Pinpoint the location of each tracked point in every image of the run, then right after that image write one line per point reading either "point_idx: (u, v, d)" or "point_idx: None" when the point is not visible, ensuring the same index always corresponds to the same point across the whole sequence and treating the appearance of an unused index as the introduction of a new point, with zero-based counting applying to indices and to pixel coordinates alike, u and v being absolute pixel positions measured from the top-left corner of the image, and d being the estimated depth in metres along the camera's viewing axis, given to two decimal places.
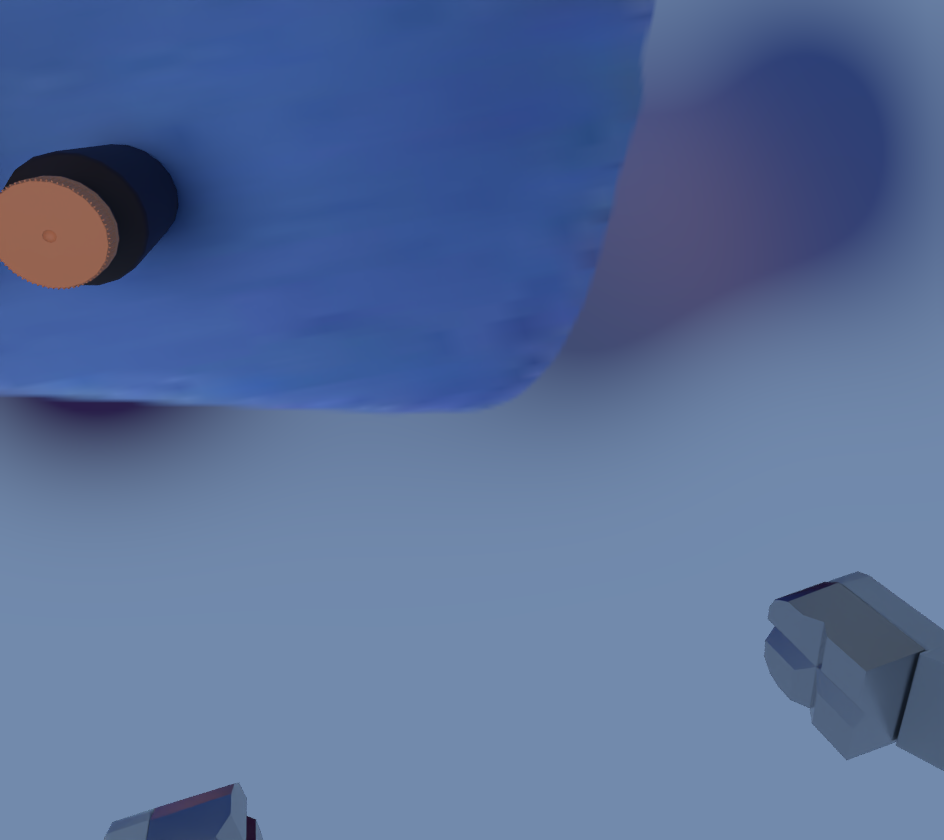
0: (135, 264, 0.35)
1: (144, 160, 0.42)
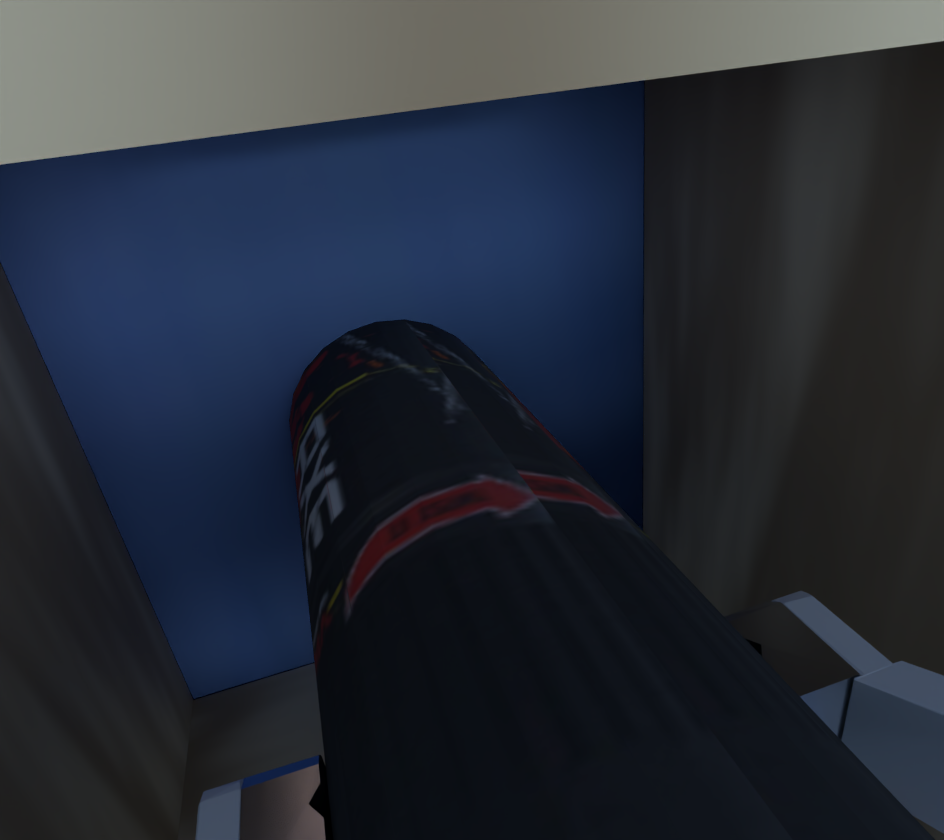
0: None
1: None
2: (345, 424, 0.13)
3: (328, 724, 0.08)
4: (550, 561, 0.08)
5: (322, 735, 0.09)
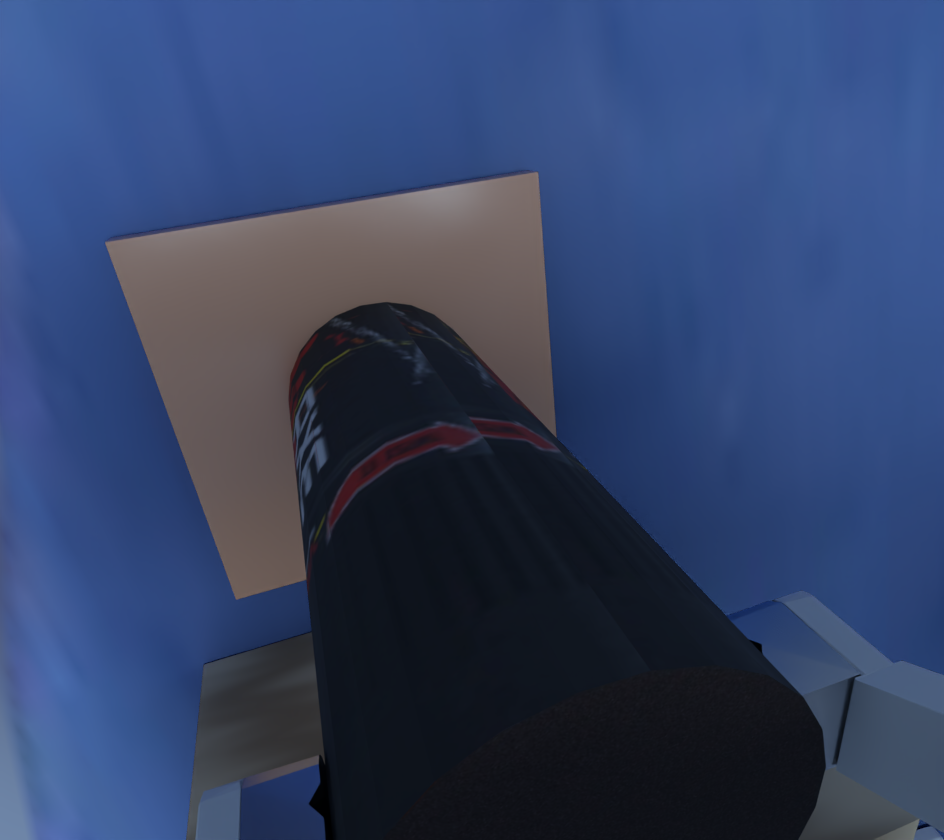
0: None
1: None
2: (330, 392, 0.15)
3: (315, 625, 0.10)
4: (485, 480, 0.10)
5: (312, 636, 0.10)
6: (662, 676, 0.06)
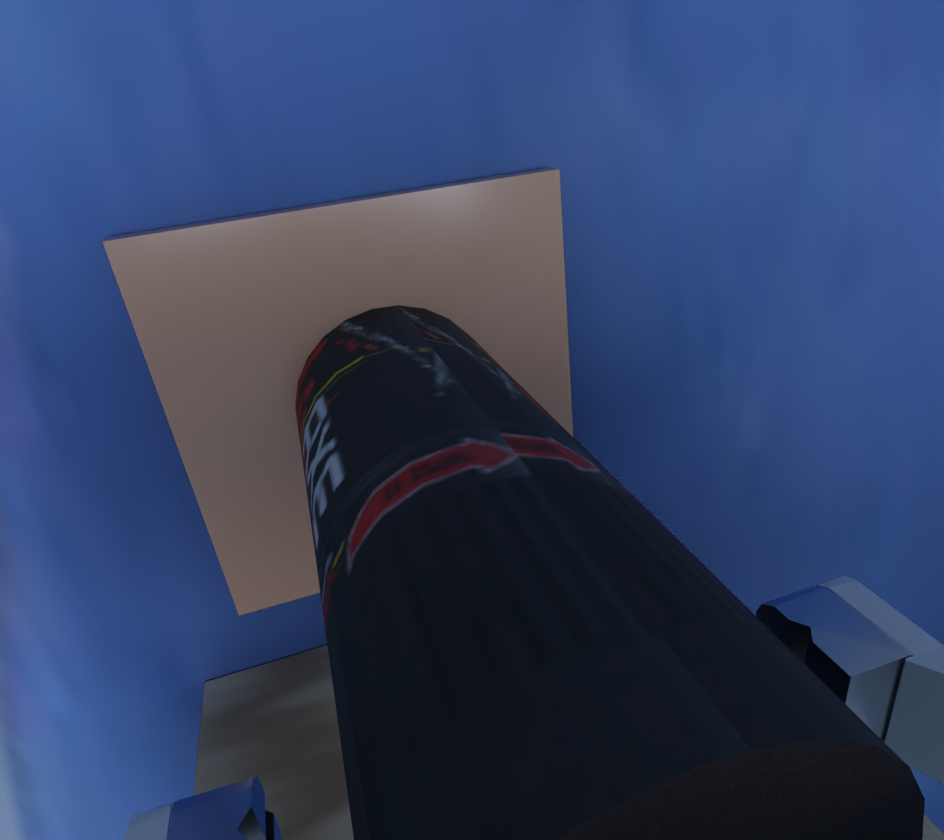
0: None
1: None
2: (344, 403, 0.14)
3: (336, 665, 0.09)
4: (526, 507, 0.09)
5: None
6: (762, 753, 0.05)
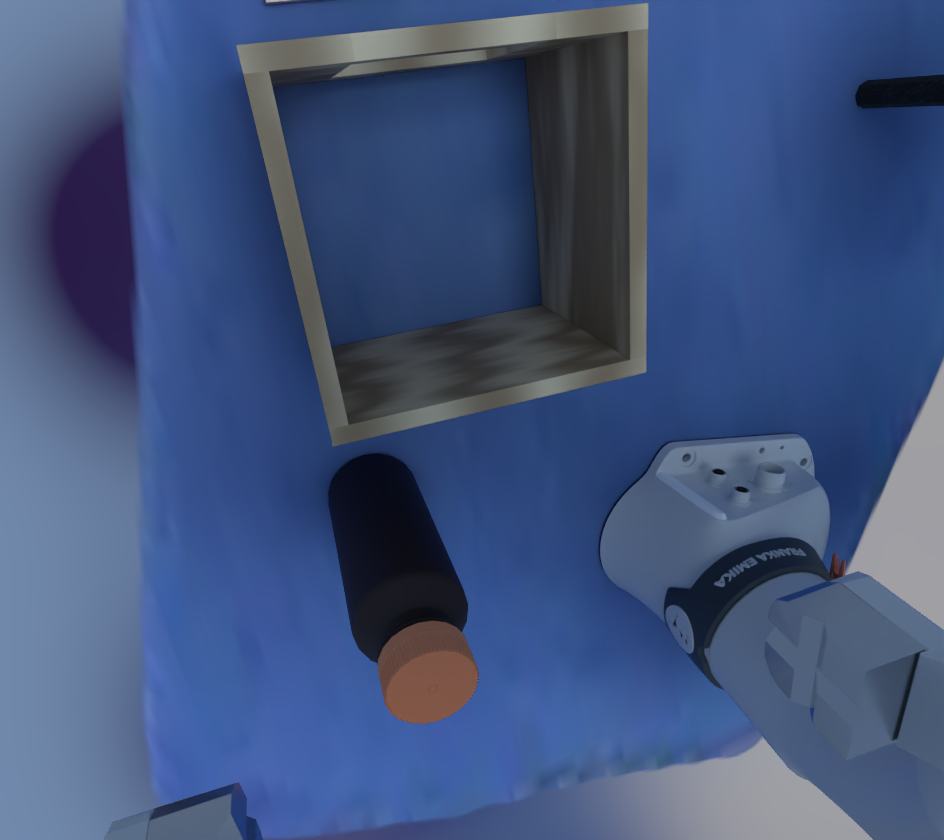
0: None
1: None
2: None
3: None
4: None
5: None
6: None
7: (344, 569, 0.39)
